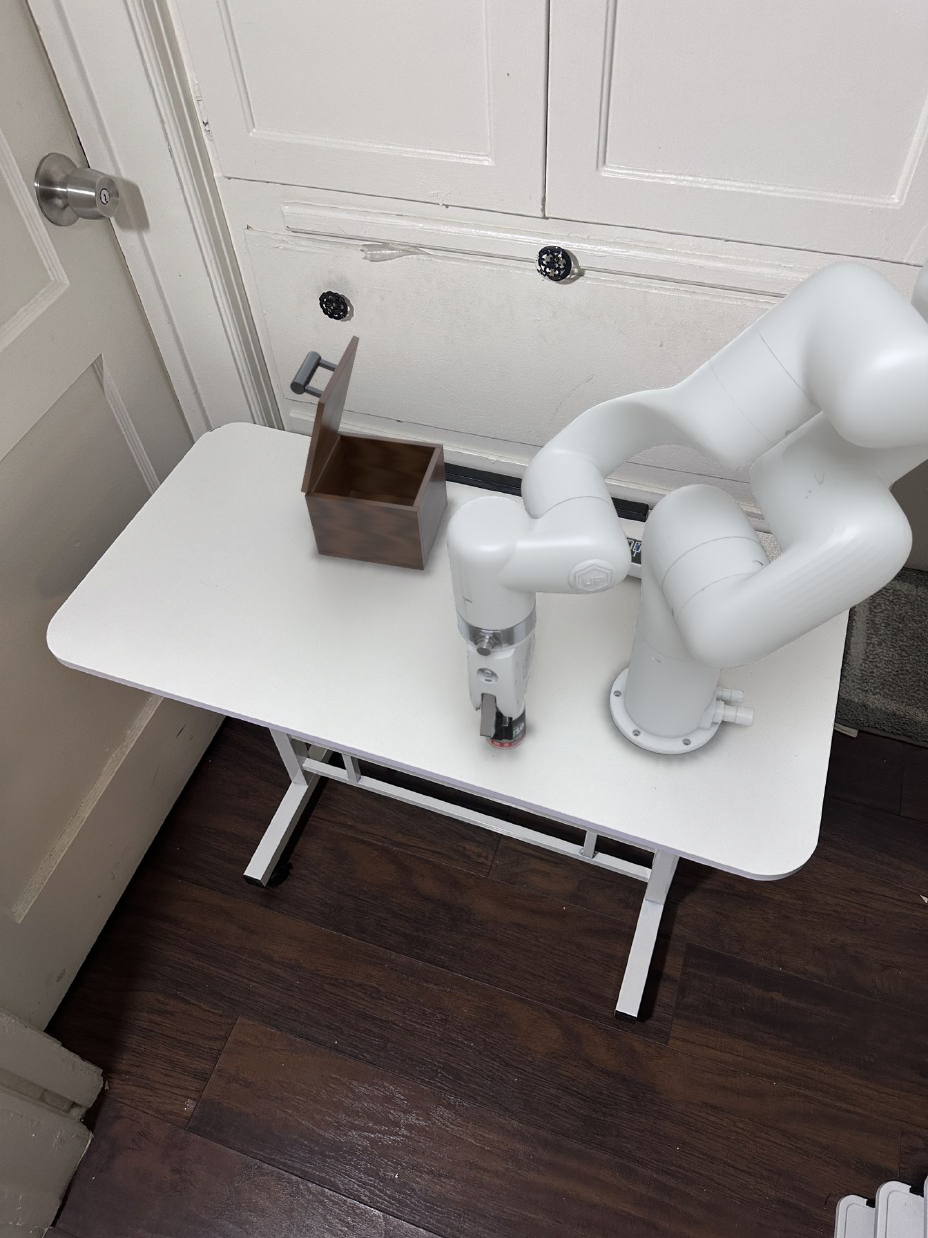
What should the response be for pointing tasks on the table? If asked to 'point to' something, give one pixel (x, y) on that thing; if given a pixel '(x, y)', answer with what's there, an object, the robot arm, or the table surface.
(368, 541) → the chest
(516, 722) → the pill bottle
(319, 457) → the chest lid
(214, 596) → the table surface
